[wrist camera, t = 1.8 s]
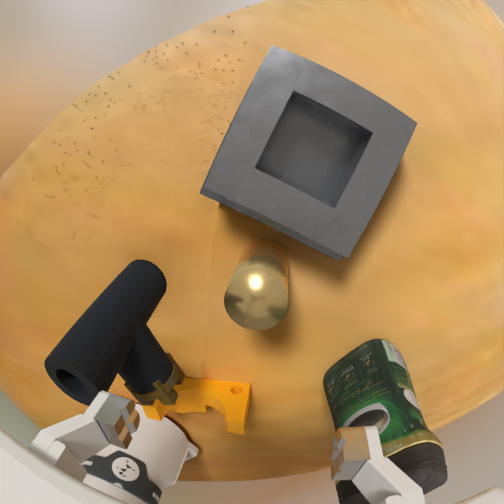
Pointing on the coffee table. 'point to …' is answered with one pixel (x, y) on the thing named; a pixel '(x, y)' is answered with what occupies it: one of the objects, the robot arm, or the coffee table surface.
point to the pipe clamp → (208, 401)
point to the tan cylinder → (259, 287)
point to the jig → (308, 153)
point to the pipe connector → (118, 343)
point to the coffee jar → (384, 414)
